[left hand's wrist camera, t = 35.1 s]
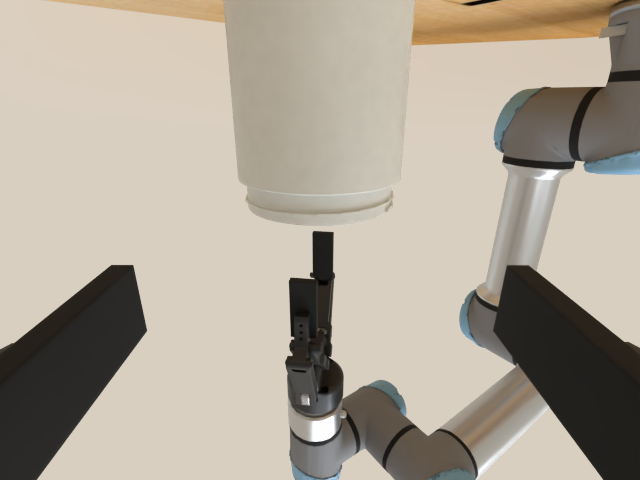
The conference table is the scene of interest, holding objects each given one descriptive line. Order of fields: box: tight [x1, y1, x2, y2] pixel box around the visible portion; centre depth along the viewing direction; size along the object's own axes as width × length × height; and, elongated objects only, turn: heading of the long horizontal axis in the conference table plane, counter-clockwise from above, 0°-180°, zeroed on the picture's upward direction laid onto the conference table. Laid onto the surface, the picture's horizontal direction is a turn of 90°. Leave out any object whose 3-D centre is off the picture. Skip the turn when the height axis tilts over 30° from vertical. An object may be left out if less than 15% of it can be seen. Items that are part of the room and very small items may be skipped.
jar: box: [223, 0, 415, 226], centre depth 19 cm, size 9×9×18 cm
